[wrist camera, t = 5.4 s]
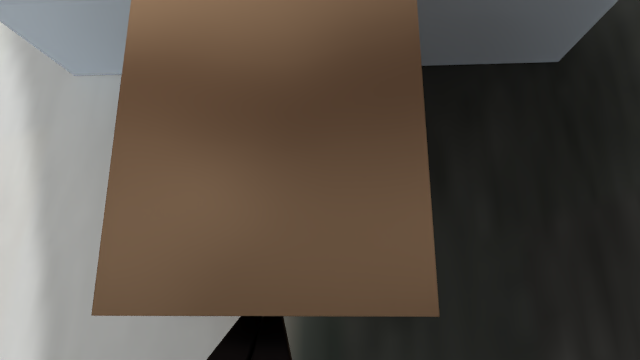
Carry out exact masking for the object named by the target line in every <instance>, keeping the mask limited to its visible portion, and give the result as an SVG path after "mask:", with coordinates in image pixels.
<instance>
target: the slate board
mask: <svg viewBox="0 0 640 360" xmlns="http://www.w3.org/2000/svg"><path fill="white" fill-rule="evenodd" d="M617 1H618V0H417V8H418V22H419V36H420V51H421V65H422V66H431V65H466V64H502V63H537V62H559V60H560V59H561V58H562V57H563V56H564V55H565V54H566V53H567V52H568V51H569V50H570V49H571V48H572V47H573V46H574V45H575V44H576V43H577V42H578V41H579V40H580V39H581V38H582V37H583V36H584V35H585V34H586V33H587V32H588V31H589V30H590V29H591V28H592V27H593V26H594V25H595V24H596V23H597V22H598V21H599V20H600V18H601V17H602V16H603V15H604V14H605V13H606V12H607V11H608V10H609V9H610V8H611V7H612V6H613V5H614V4H615V3H616V2H617ZM130 5H131V0H0V22H2V23H3V24H4V25H6V26H7V27H8V28H10V29H11V30H12V31H14V32H15V33H17V34H18V35H19V36H21V37H22V38H23V39H25V40H26V41H28V42H29V43H30V44H32V45H33V46H34V47H36V48H37V49H38V50H40V51H41V52H43V53H44V54H45V55H47V56H48V57H49V58H51V59H52V60H54V61H55V62H56V63H58V64H59V65H60V66H62V67H63V68H64V69H66V70H67V71H69V72H70V73H71V74H73V75H74V76H78V75H113V74H122V69H123V61H124V53H125V45H126V37H127V29H128V21H129V13H130Z"/></svg>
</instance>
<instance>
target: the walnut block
mask: <svg viewBox="0 0 640 360" xmlns="http://www.w3.org/2000/svg"><path fill="white" fill-rule="evenodd" d="M92 315H94V316H412V317H439V305H438V290H437V276H436V262H435V248H434V234H433V220H432V206H431V192H430V178H429V163H428V149H427V135H426V121H425V107H424V93H423V79H422V65H421V51H420V36H419V22H418V8H417V0H131V5H130V13H129V21H128V29H127V37H126V45H125V53H124V61H123V69H122V77H121V85H120V92H119V100H118V108H117V116H116V124H115V132H114V140H113V148H112V156H111V164H110V172H109V180H108V188H107V196H106V204H105V212H104V220H103V228H102V235H101V243H100V251H99V259H98V267H97V275H96V283H95V291H94V299H93V307H92Z"/></svg>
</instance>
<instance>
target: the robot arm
mask: <svg viewBox="0 0 640 360" xmlns="http://www.w3.org/2000/svg"><path fill="white" fill-rule="evenodd" d="M207 360H292V357H291V352H290V348H289V343H288V338H287V333H286V328H285V323H284V318H283V316H241V317H240V318H239V319H238V321H237V322H236V323H235V324H234V326H233V327H232V328H231V329H230V331H229V332H228V333H227V335H226V336H225V337H224V338H223V340H222V341H221V342H220V343H219V345H218V346H217V347H216V348H215V350H214V351H213V352H212V354H211V355H210V356H209V357H208V359H207Z"/></svg>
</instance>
